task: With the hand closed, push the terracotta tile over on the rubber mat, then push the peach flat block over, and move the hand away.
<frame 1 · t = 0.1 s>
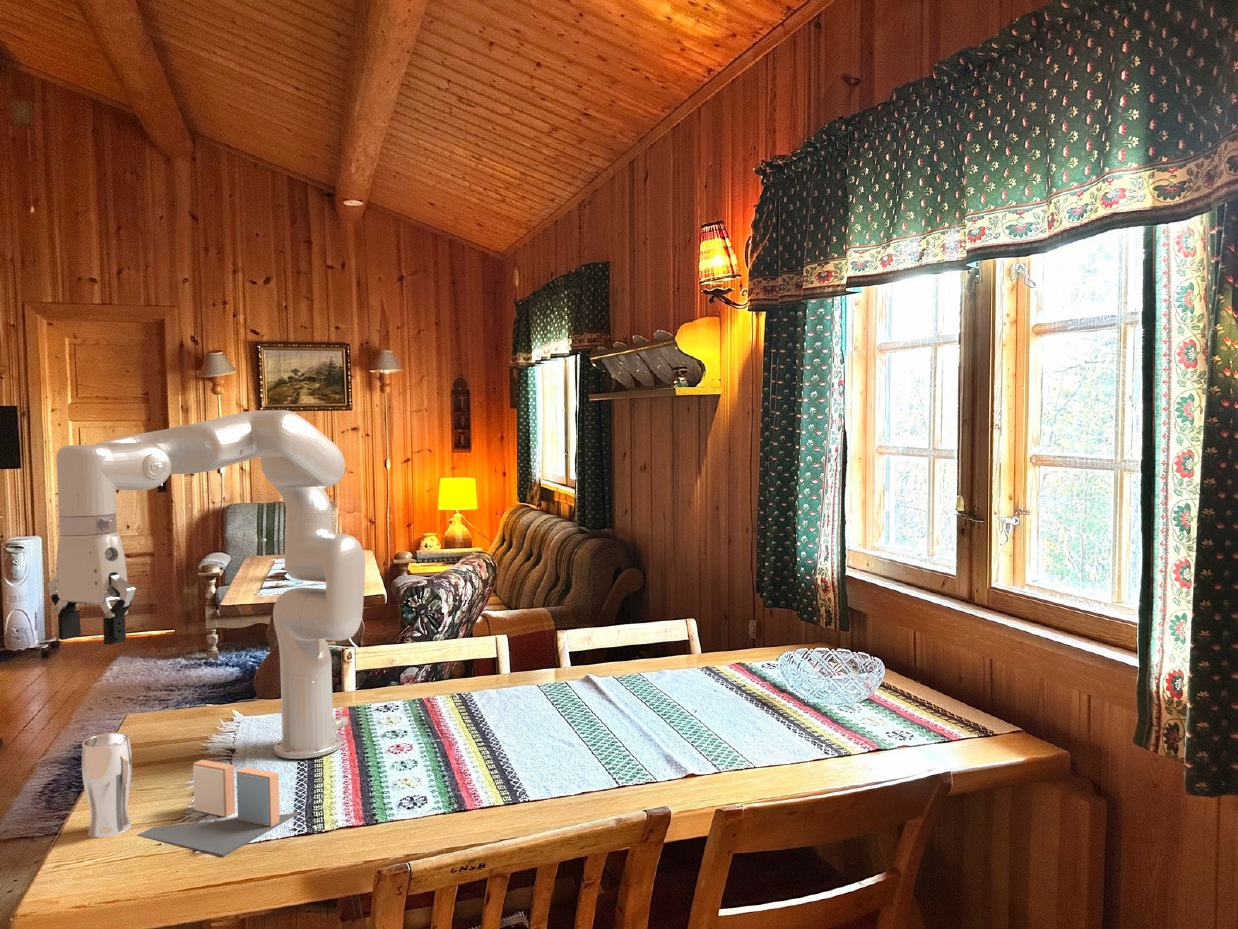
hand: (92, 640, 139), 32 cm above the table, tool pointing down, fingers open, 9 cm apart
beer glass: (110, 833, 146), on the table
terracotta tile: (214, 812, 152), point 1 cm above the table, touching rubber mat
peach flat block: (258, 821, 148), point 1 cm above the table, touching rubber mat
rubber mat: (225, 825, 149), on the table
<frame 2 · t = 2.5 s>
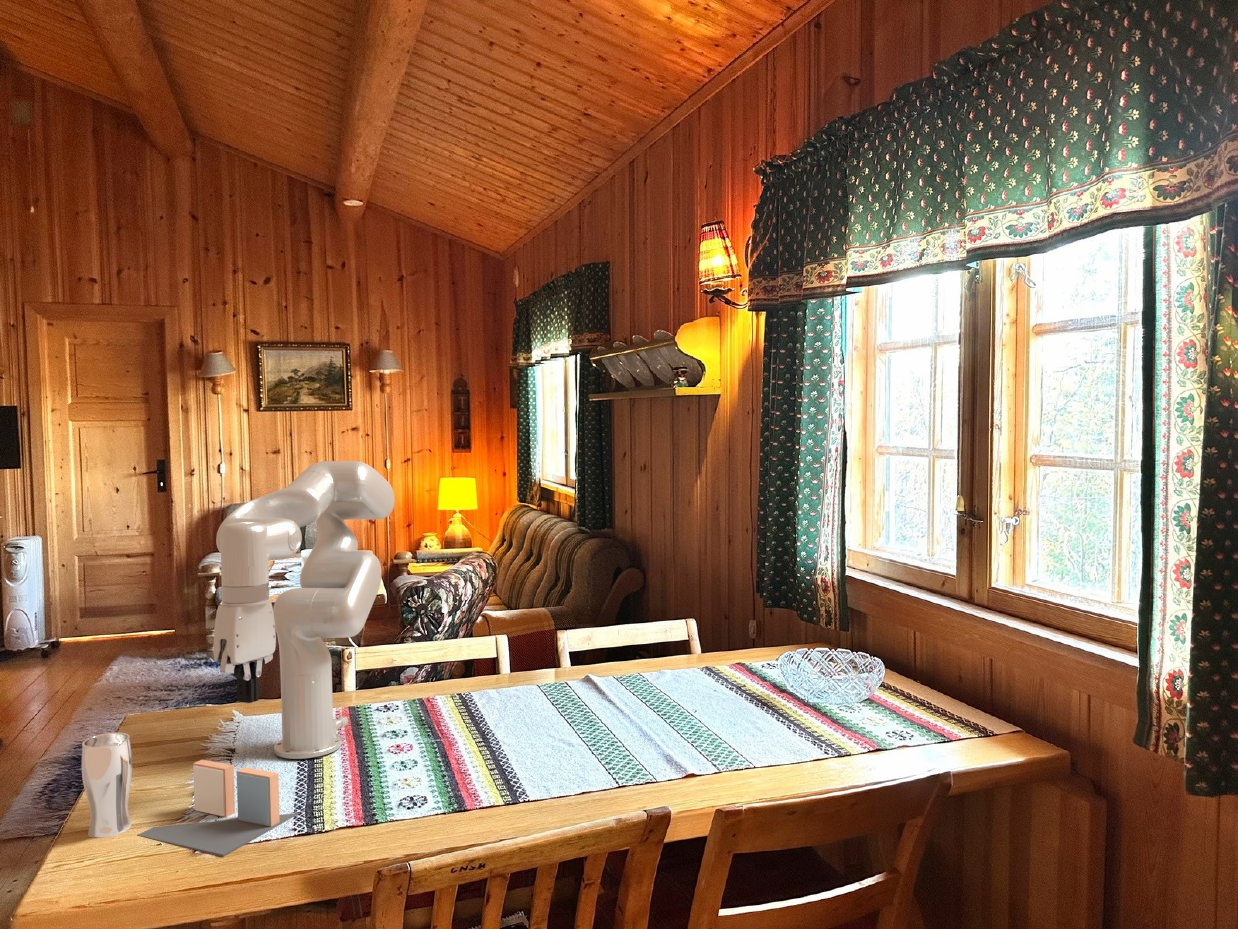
hand: (247, 701, 159), 17 cm above the table, tool pointing down, fingers closed
nothing on the table moved.
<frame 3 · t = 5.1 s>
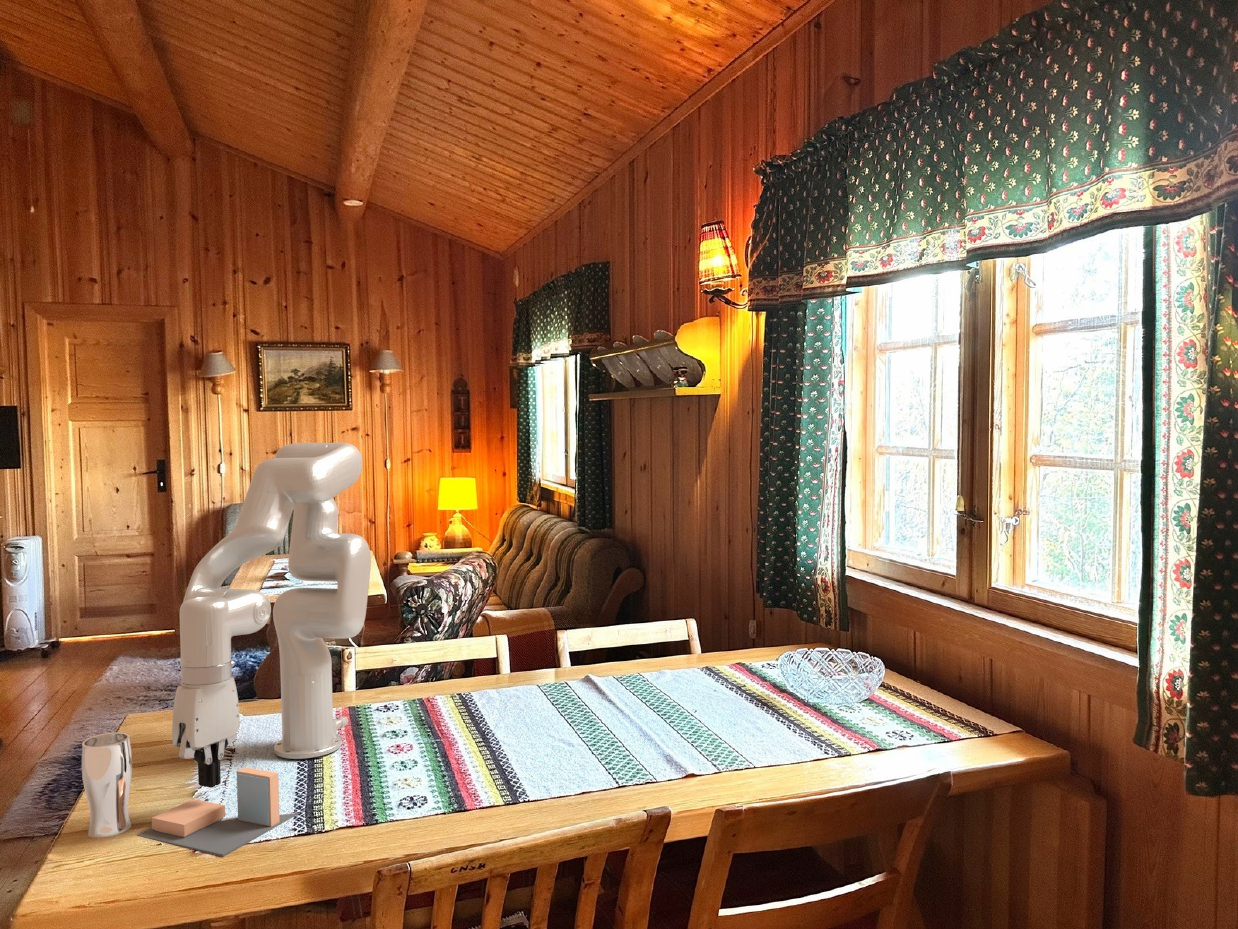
hand: (209, 784, 151), 6 cm above the table, tool pointing down, fingers closed
terracotta tile: (209, 807, 151), point 2 cm above the table, tilted 90°, touching rubber mat
everything else where it was.
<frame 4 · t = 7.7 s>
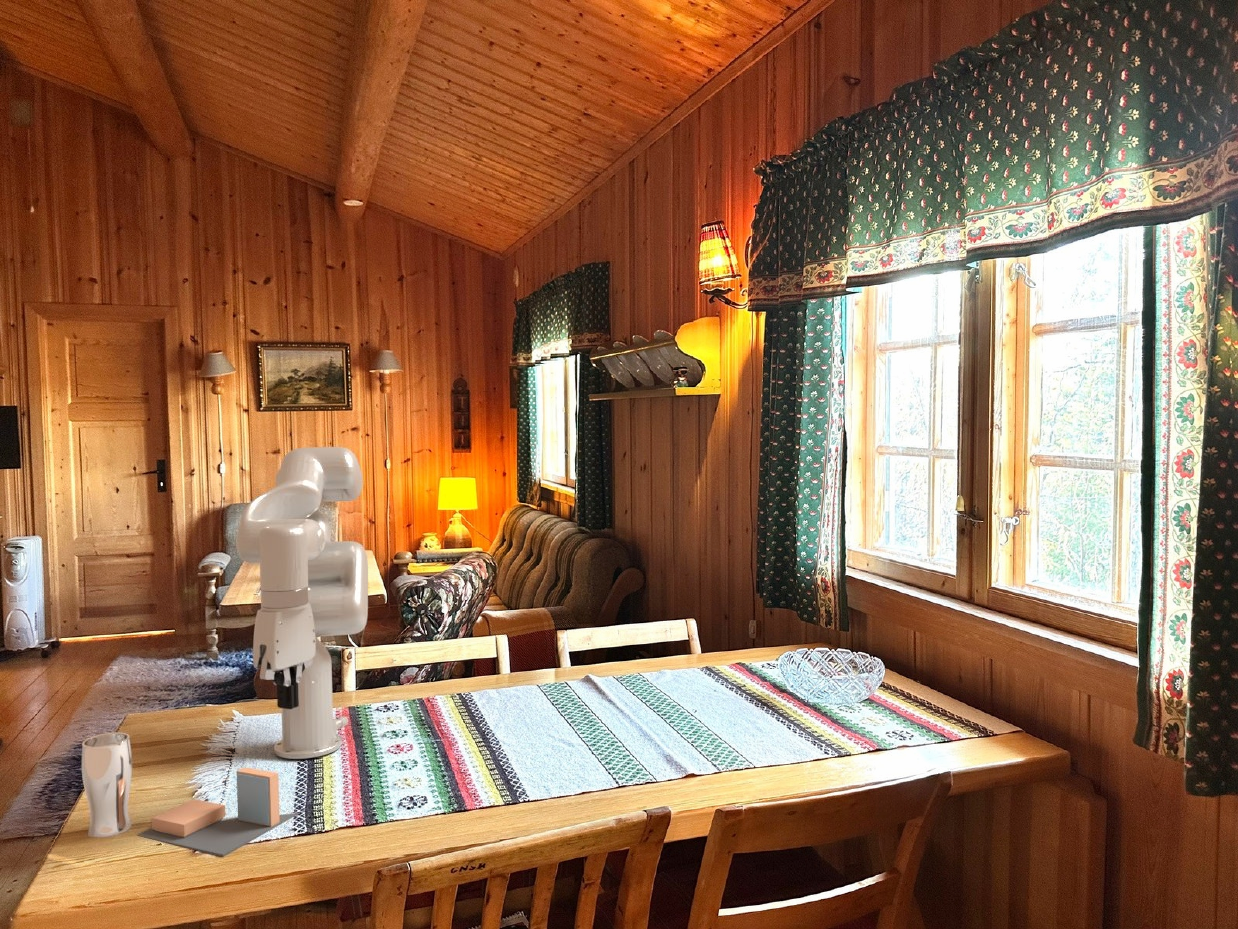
hand: (288, 707, 155), 17 cm above the table, tool pointing down, fingers closed
nothing on the table moved.
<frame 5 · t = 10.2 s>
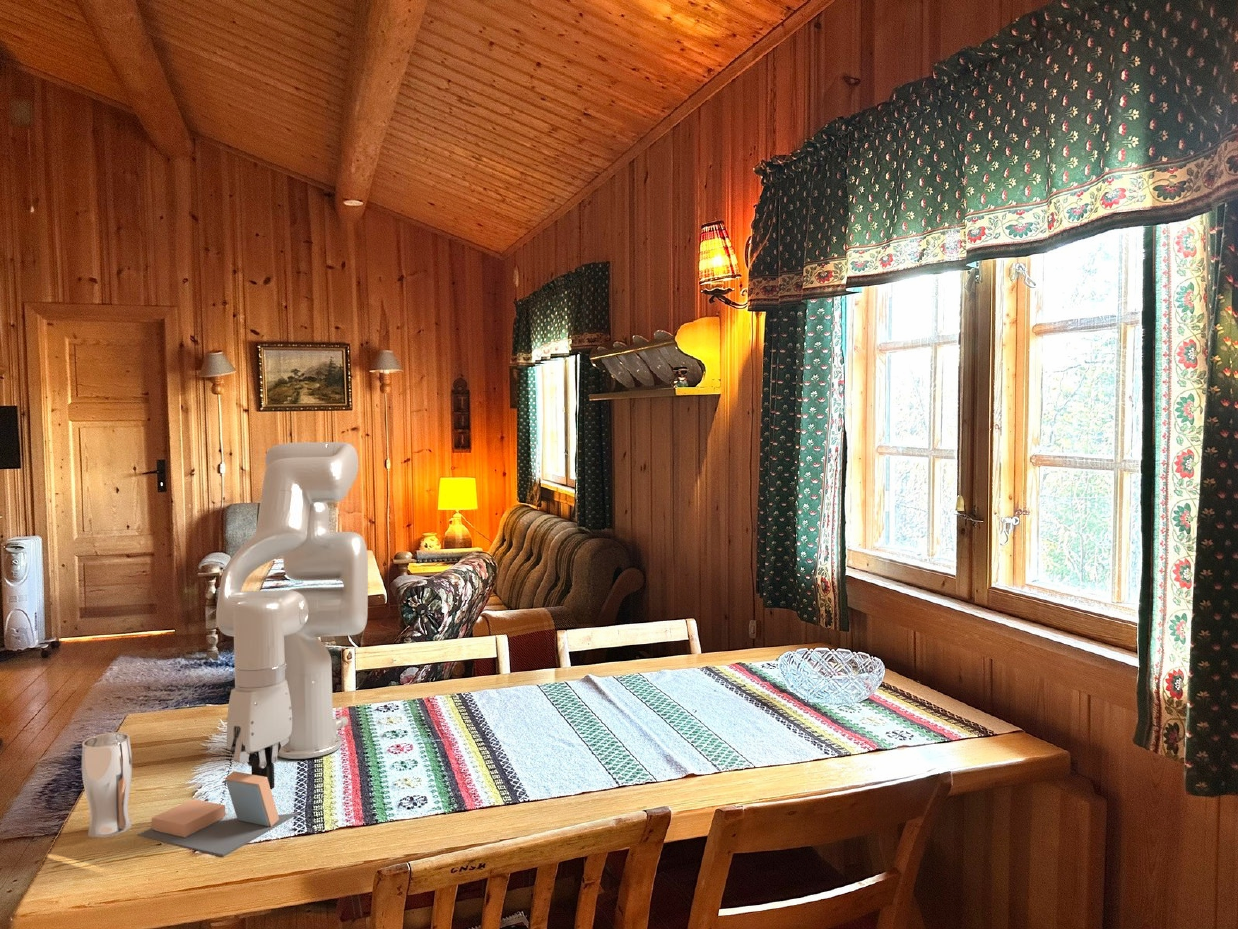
hand: (263, 788, 149), 6 cm above the table, tool pointing down, fingers closed
peach flat block: (258, 819, 148), point 1 cm above the table, tilted 17°, touching rubber mat
everything else where it was.
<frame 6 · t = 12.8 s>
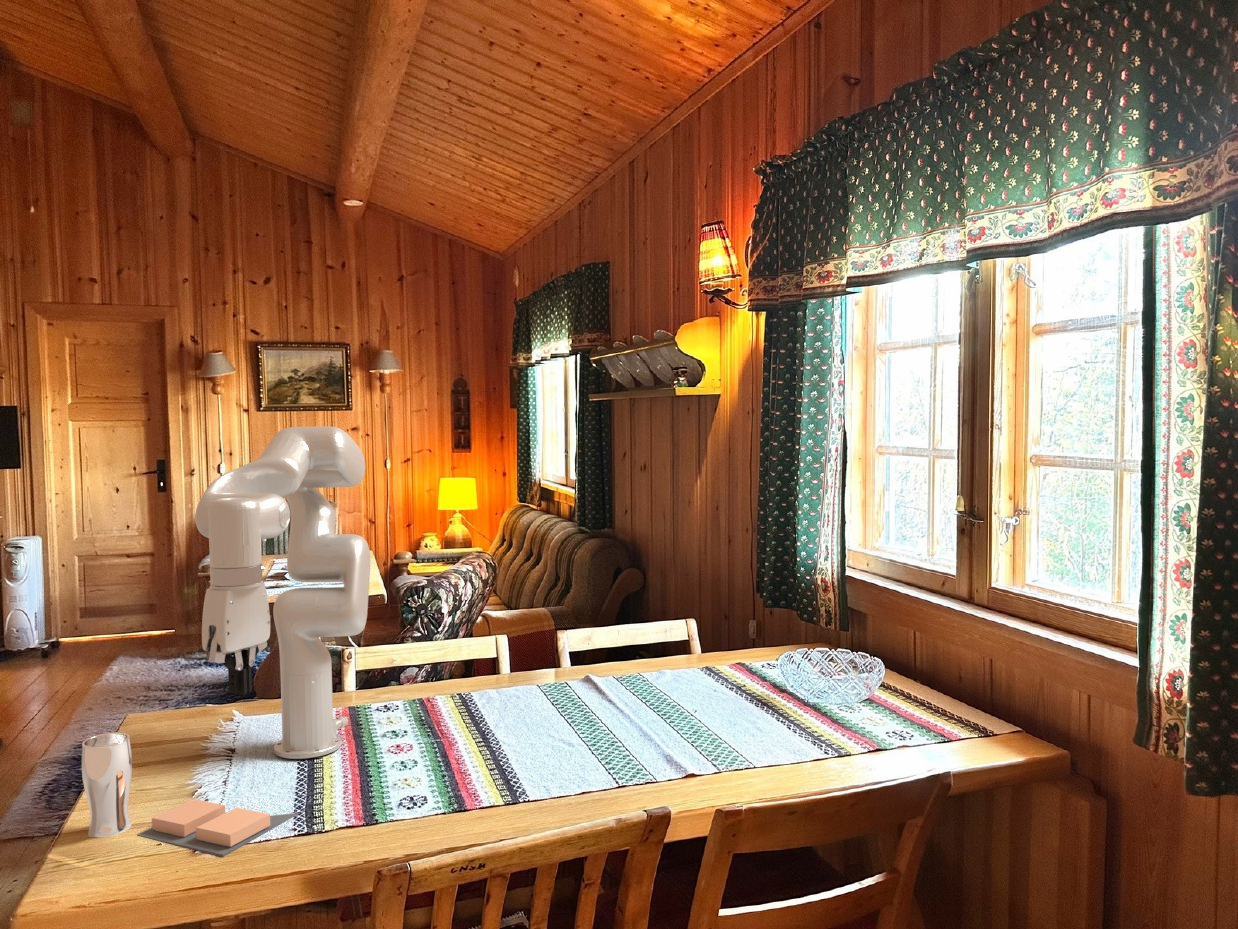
hand: (240, 692, 145), 22 cm above the table, tool pointing down, fingers closed
peach flat block: (253, 816, 147), point 2 cm above the table, tilted 90°, touching rubber mat
everything else where it was.
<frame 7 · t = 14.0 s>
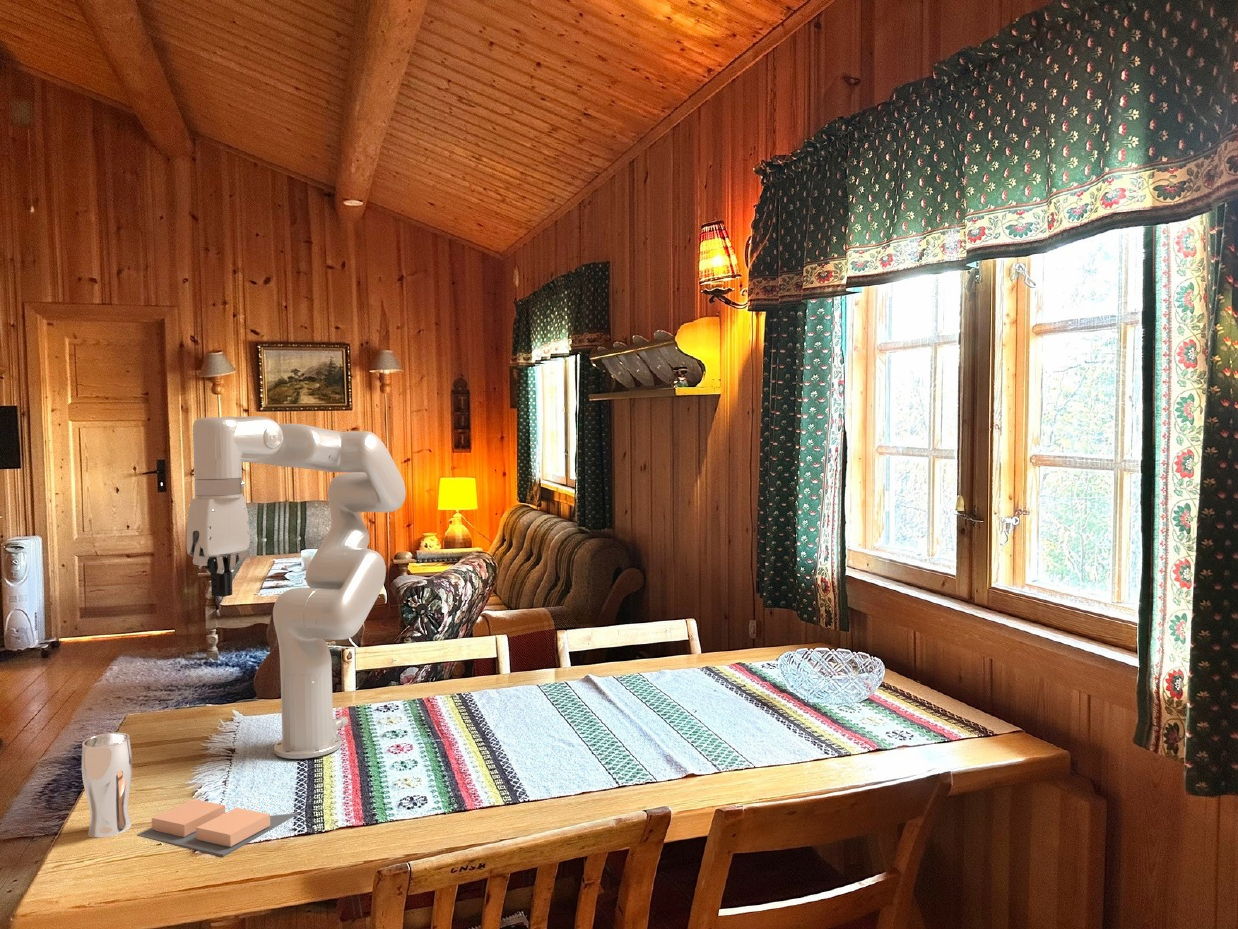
hand: (221, 595, 159), 35 cm above the table, tool pointing down, fingers closed
nothing on the table moved.
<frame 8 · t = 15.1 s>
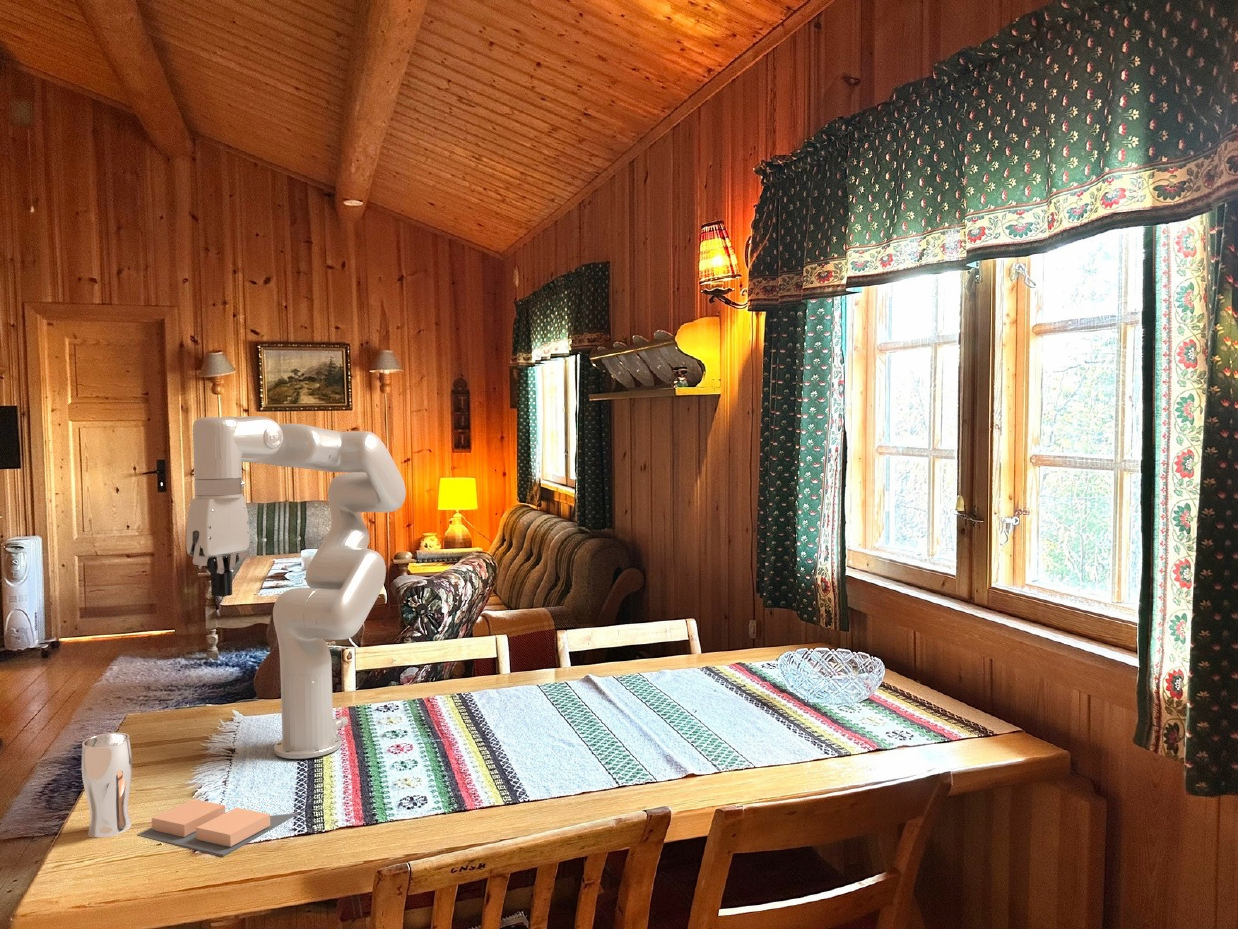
hand: (221, 595, 159), 35 cm above the table, tool pointing down, fingers closed
nothing on the table moved.
at the end: terracotta tile tilted 90°; peach flat block tilted 90°; terracotta tile inside the target area (4.4 cm from its centre), point 1.8 cm above the table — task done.
